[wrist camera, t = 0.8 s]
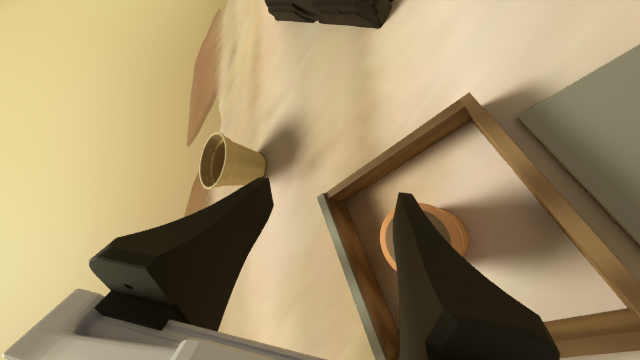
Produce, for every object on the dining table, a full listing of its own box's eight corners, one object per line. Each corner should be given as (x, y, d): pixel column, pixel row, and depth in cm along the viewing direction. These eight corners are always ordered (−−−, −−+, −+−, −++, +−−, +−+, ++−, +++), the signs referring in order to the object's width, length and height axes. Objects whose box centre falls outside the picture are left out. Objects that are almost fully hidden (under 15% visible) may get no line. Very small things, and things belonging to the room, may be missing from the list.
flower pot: (264, 134, 43) (220, 120, 36) (277, 175, 39) (229, 167, 32) (240, 163, 48) (196, 154, 41) (249, 202, 43) (202, 199, 37)
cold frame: (659, 320, 13) (699, 348, 10) (399, 355, 22) (381, 376, 19) (475, 108, 21) (468, 90, 18) (336, 199, 30) (316, 197, 27)
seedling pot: (488, 255, 19) (479, 267, 14) (424, 276, 22) (400, 291, 17) (449, 195, 21) (430, 188, 17) (396, 221, 24) (368, 221, 20)
